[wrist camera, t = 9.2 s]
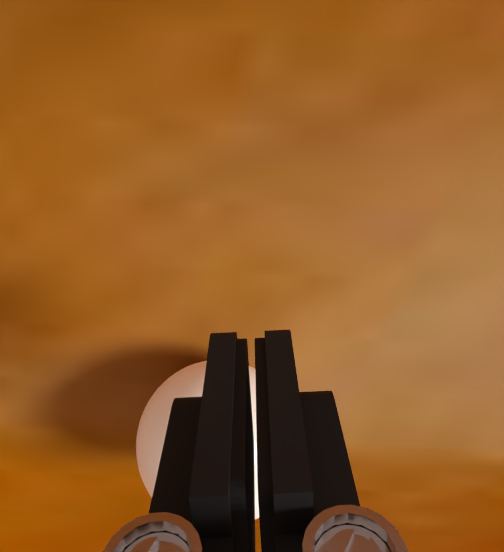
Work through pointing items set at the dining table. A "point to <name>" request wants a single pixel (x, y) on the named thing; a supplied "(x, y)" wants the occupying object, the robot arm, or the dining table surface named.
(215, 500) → the robot arm
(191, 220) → the dining table surface
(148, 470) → the cue ball
